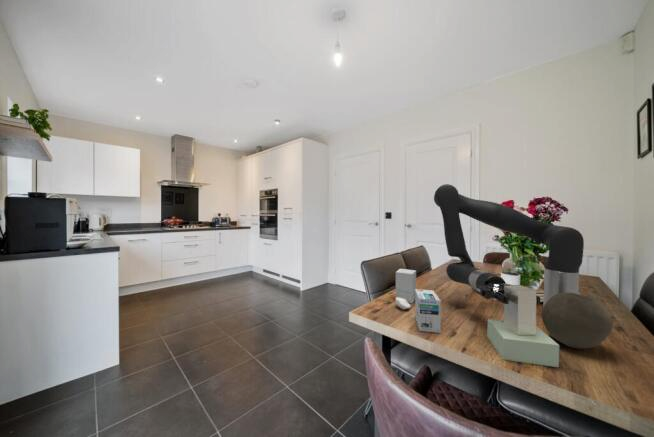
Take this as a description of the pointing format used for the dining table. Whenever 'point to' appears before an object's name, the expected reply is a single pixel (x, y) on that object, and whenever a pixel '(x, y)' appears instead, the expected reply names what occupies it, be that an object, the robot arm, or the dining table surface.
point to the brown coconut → (576, 320)
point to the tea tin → (520, 310)
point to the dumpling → (402, 303)
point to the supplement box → (406, 284)
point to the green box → (523, 345)
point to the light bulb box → (427, 311)
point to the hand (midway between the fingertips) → (523, 300)
